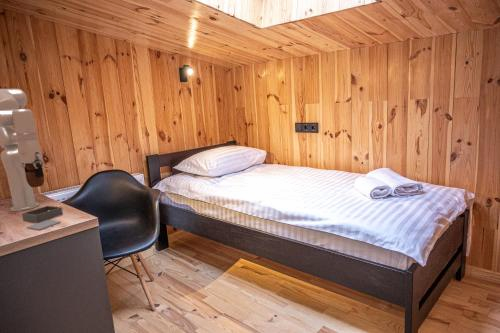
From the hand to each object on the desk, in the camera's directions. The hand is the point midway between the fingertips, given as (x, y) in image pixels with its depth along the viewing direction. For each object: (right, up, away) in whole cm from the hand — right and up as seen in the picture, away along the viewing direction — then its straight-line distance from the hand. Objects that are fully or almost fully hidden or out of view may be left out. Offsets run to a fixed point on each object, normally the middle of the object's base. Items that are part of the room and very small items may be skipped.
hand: (34, 176), depth 146 cm
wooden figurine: (0, -5, +1) cm, 5 cm away
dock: (+2, -19, +3) cm, 20 cm away
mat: (+9, -21, -8) cm, 24 cm away
